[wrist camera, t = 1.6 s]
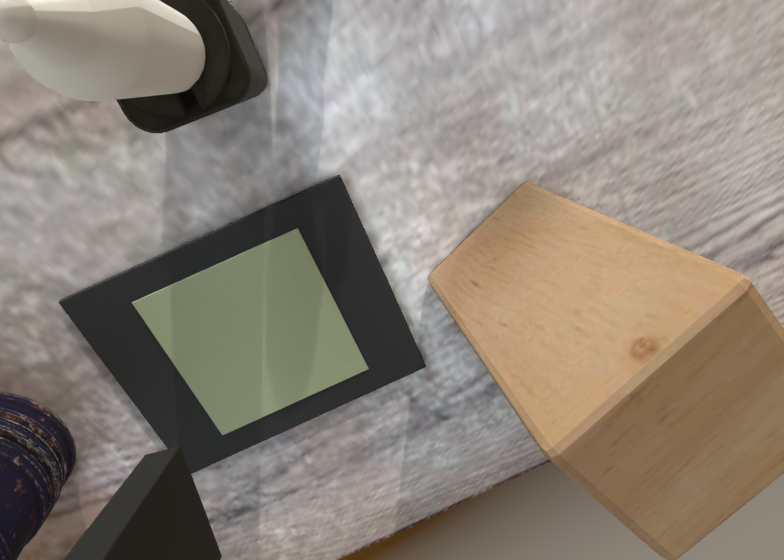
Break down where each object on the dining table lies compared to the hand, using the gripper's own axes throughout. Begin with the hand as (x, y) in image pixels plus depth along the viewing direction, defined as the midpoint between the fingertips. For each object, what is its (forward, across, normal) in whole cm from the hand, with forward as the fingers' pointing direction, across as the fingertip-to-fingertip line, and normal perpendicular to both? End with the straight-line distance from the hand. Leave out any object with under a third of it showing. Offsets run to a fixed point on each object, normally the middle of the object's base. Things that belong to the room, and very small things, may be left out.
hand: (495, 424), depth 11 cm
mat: (+27, -12, -3) cm, 29 cm away
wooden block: (+28, +8, -4) cm, 30 cm away
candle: (+24, -8, +14) cm, 29 cm away
